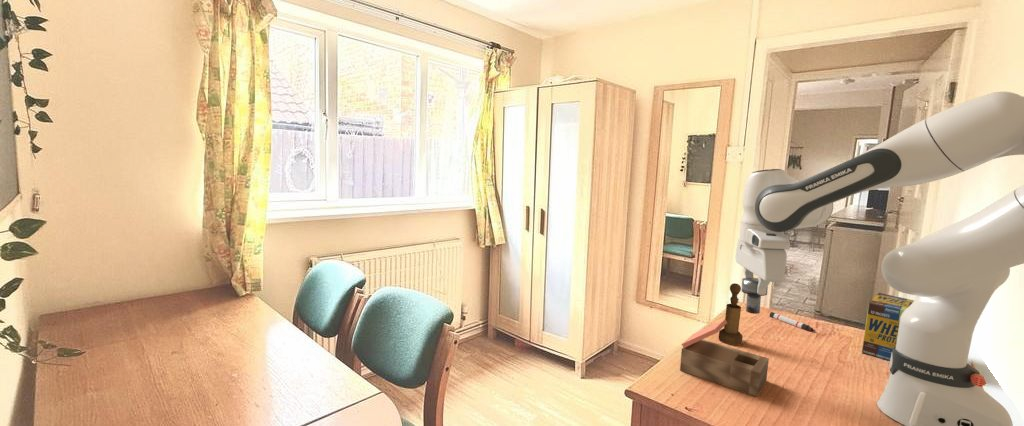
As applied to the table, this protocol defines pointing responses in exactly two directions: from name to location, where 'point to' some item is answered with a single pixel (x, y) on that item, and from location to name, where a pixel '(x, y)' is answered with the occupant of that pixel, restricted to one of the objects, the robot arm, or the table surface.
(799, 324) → the marker
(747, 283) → the grey domed cylinder
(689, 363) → the block
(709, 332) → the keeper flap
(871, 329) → the protein box
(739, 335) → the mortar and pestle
